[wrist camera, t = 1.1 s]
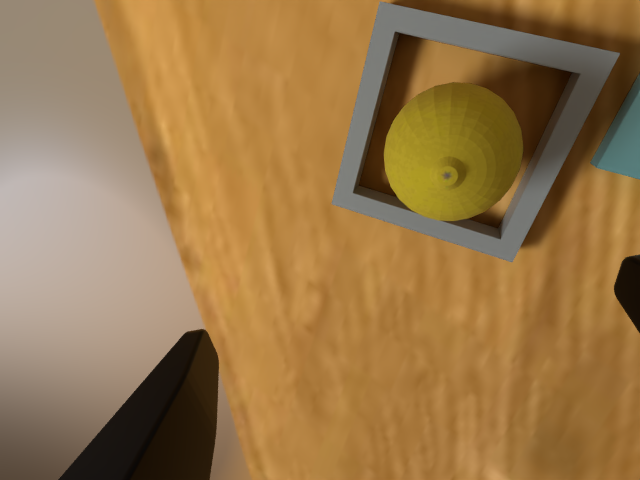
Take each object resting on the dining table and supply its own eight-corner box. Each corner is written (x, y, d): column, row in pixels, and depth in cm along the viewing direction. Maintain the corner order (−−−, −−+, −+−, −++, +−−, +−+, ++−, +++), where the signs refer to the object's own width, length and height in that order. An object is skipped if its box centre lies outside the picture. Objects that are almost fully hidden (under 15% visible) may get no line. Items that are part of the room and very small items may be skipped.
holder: (608, 53, 17) (620, 53, 16) (509, 249, 22) (512, 262, 20) (385, 5, 19) (379, 1, 18) (338, 195, 24) (331, 204, 22)
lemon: (520, 76, 18) (555, 87, 11) (501, 191, 21) (522, 258, 14) (400, 79, 20) (368, 90, 13) (394, 185, 22) (365, 242, 15)
